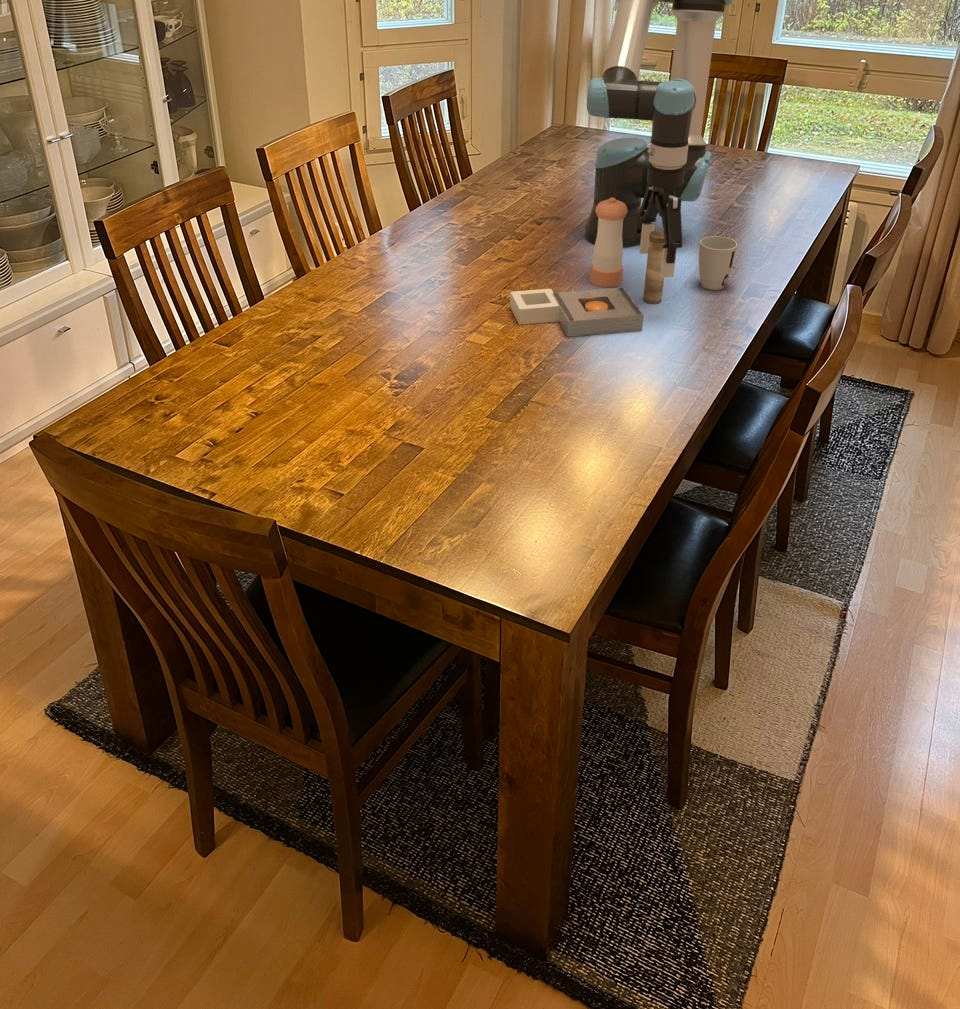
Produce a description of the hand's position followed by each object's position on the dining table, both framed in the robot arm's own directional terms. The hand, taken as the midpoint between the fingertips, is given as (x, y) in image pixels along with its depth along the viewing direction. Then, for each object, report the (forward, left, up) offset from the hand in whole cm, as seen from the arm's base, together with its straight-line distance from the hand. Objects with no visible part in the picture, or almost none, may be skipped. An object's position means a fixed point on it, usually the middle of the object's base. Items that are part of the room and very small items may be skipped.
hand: (656, 264), depth 214 cm
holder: (+2, -27, -8) cm, 28 cm away
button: (+7, -15, -6) cm, 17 cm away
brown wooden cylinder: (0, 0, -8) cm, 8 cm away
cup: (-5, +16, -9) cm, 19 cm away
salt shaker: (-12, -7, -9) cm, 16 cm away
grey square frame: (+7, -15, -8) cm, 18 cm away
